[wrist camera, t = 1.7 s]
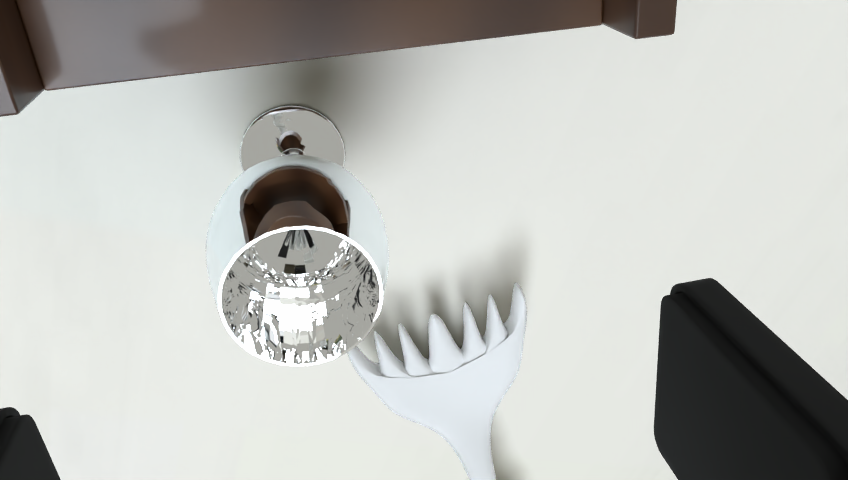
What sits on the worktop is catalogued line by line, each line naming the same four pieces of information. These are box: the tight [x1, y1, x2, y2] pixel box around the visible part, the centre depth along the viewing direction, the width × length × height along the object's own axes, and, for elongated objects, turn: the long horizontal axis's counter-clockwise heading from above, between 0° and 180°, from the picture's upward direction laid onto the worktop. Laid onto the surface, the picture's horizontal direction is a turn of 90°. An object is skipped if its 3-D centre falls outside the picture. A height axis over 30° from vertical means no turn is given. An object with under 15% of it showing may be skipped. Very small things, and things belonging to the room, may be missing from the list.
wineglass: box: [206, 105, 389, 366], centre depth 26 cm, size 6×6×12 cm
